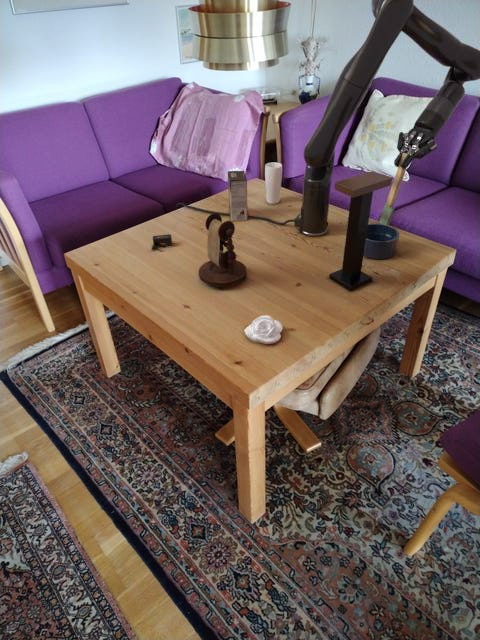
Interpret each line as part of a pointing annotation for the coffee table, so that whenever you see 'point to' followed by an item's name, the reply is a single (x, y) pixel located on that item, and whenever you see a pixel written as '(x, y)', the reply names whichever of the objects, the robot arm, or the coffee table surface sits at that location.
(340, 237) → the coffee table surface
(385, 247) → the bowl
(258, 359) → the coffee table surface
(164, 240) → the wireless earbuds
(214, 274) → the scroll
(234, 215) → the coffee box
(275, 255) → the coffee table surface
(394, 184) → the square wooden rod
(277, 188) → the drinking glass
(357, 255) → the headphone stand
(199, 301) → the coffee table surface
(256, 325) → the rose
